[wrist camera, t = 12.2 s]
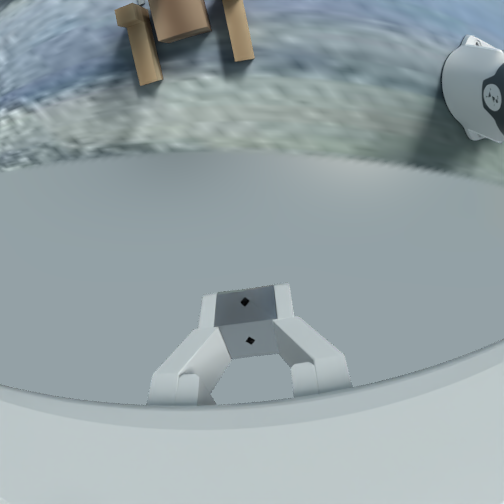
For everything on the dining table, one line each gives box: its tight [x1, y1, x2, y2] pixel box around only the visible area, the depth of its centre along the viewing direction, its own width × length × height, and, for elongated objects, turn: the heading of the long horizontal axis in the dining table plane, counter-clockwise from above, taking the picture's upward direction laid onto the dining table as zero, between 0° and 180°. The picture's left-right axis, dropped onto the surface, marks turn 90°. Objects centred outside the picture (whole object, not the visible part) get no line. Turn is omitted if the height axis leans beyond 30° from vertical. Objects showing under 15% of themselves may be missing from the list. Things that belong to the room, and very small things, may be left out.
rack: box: [115, 0, 254, 86], centre depth 28 cm, size 15×11×6 cm
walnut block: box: [148, 0, 212, 43], centre depth 27 cm, size 6×7×5 cm
